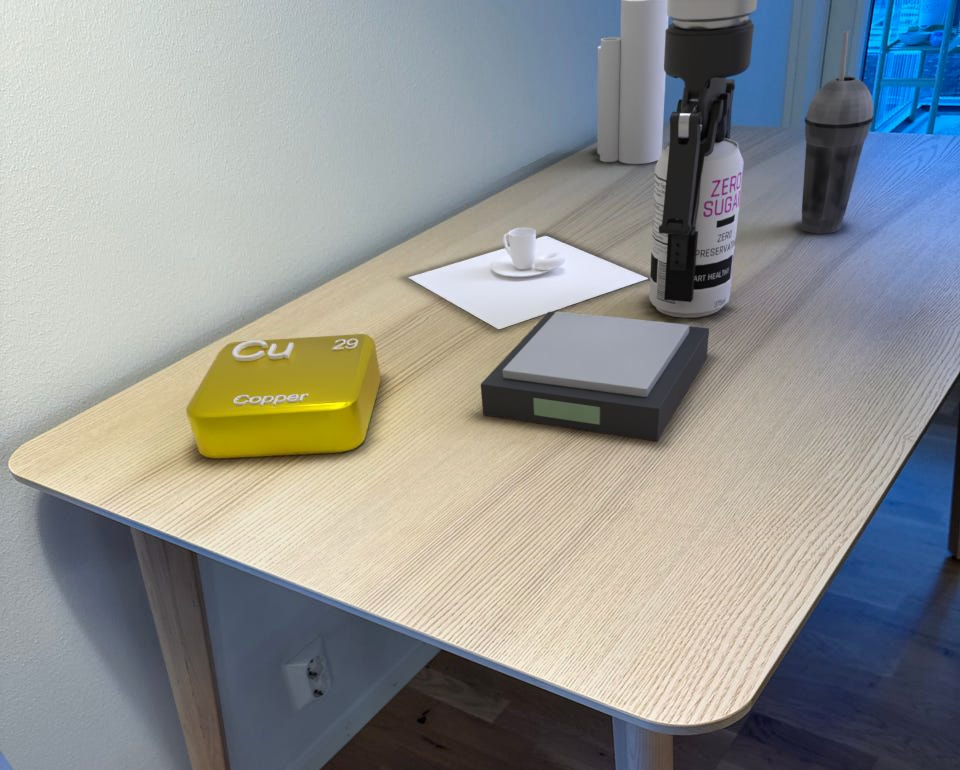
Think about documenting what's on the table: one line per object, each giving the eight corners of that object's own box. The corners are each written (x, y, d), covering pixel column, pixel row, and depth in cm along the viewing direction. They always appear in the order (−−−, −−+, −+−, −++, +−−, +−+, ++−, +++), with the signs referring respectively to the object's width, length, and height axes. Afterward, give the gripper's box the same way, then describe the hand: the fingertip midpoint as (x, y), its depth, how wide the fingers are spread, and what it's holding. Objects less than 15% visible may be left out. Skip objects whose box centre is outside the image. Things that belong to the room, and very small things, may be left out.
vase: (670, 154, 136) (679, -8, 123) (644, 167, 133) (650, 1, 119) (607, 146, 142) (609, -8, 129) (581, 158, 138) (580, 0, 125)
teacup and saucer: (576, 269, 105) (575, 233, 102) (519, 288, 102) (517, 251, 99) (533, 250, 110) (531, 215, 108) (478, 267, 108) (475, 232, 105)
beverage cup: (866, 225, 108) (905, 25, 94) (825, 242, 105) (859, 38, 92) (816, 212, 112) (847, 20, 99) (776, 228, 110) (802, 32, 96)
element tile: (193, 461, 79) (176, 411, 76) (235, 382, 90) (222, 335, 87) (362, 453, 77) (353, 402, 74) (383, 373, 89) (376, 326, 85)
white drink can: (662, 286, 99) (670, 134, 89) (737, 293, 96) (754, 136, 86) (638, 315, 94) (644, 157, 84) (717, 323, 91) (733, 160, 81)
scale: (706, 358, 85) (710, 319, 83) (656, 442, 75) (659, 400, 72) (549, 340, 91) (548, 303, 89) (482, 415, 81) (478, 375, 78)
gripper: (698, 0, 86) (682, 245, 102) (630, 44, 73) (623, 319, 88) (779, -2, 84) (749, 250, 99) (723, 43, 70) (699, 327, 85)
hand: (690, 282), depth 93 cm, fingers closed on white drink can, 8 cm apart
